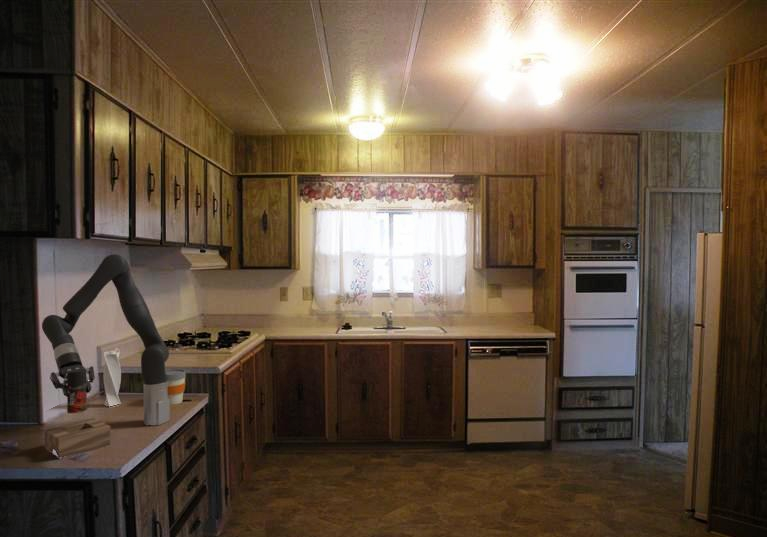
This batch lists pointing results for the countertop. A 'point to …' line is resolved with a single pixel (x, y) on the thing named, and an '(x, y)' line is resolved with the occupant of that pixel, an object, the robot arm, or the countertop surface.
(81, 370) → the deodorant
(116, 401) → the skyscraper
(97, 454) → the countertop surface
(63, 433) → the socket block
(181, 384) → the reusable coffee cup
